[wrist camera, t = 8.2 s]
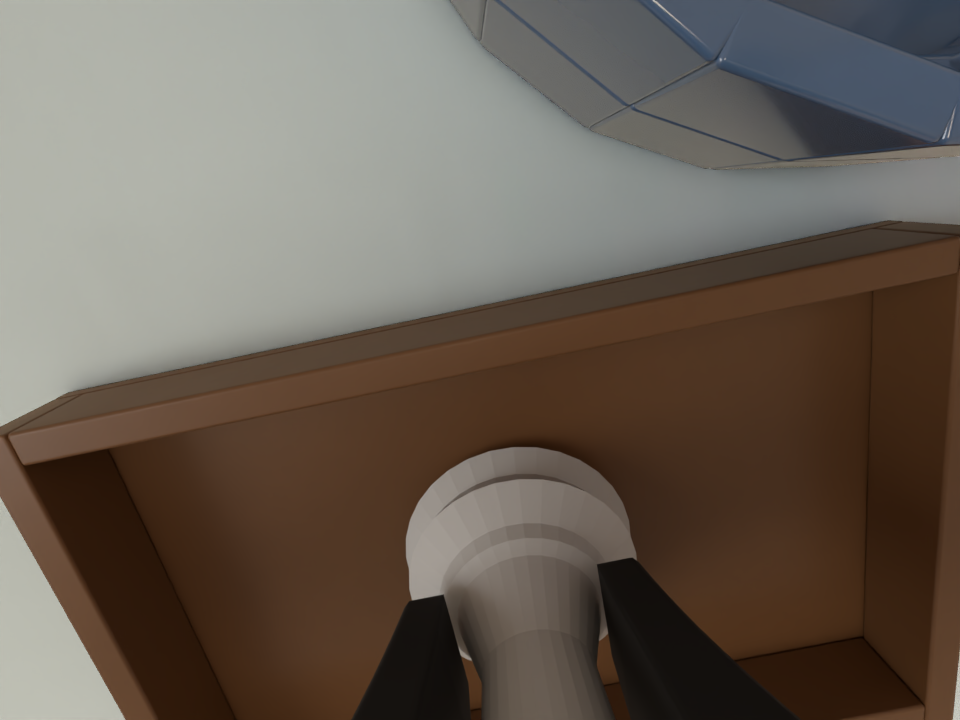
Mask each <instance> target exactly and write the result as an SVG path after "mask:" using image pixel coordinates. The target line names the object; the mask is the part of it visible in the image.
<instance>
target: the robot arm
mask: <svg viewBox="0 0 960 720" xmlns="http://www.w3.org/2000/svg"><path fill="white" fill-rule="evenodd" d="M597 569H598V575H599V581H600V587H601V593H602V599H603V605H604V611H605V617H606V623H607V629H608V636H609V642H610V648H611V654H612V658H613V661H614V665H615V668H616V672H617V675H618V678H619V682H620V685H621V689H622V692H623V695H624V699H625V702H626V705H627V709H628V712H629V715H630V718H631V720H801V719H800V718H799V717H798V716H796V715H795V714H794V713H793V712H792V711H790V710H789V709H788V708H787V707H786V706H785V705H783V704H782V703H781V702H780V701H779V700H778V699H777V698H775V697H774V696H773V695H772V694H771V693H770V692H769V691H767V690H766V689H765V688H764V687H763V686H762V685H760V684H759V683H758V682H757V681H756V680H755V679H754V678H753V677H751V676H750V675H749V674H748V673H747V672H746V671H745V670H744V669H743V668H742V667H740V666H739V665H738V664H737V663H736V662H735V661H734V660H733V659H732V658H731V657H730V656H729V655H728V654H727V653H726V652H724V651H723V650H722V649H721V648H720V647H719V646H718V645H717V644H716V643H715V642H714V641H713V640H712V639H711V638H710V637H709V636H708V635H707V634H706V633H705V632H704V631H703V630H701V629H700V628H699V627H698V626H697V625H696V624H695V623H694V622H693V621H692V620H691V619H690V618H689V616H688V615H687V614H686V613H685V612H684V611H683V610H682V609H681V608H680V607H679V606H678V605H677V604H676V603H675V602H674V601H673V600H672V599H671V598H670V597H669V596H668V594H667V593H666V592H665V591H664V590H663V589H662V588H661V587H660V586H659V585H658V583H657V582H656V581H655V580H654V579H653V578H652V577H651V576H650V574H649V573H648V572H647V571H646V570H645V569H644V567H643V566H642V565H641V564H640V562H638V561H637V560H635V559H634V558H632V557H631V558H626V559H621V560H616V561H611V562H606V563H601V564H597ZM351 720H471V711H470V697H469V683H468V680H467V676H466V673H465V669H464V665H463V662H462V658H461V655H460V651H459V647H458V644H457V640H456V637H455V633H454V630H453V626H452V622H451V619H450V615H449V612H448V608H447V604H446V601H445V597H444V594H443V595H437V596H432V597H427V598H422V599H417V600H412V601H409V602H408V604H407V605H406V606H405V608H404V610H403V612H402V615H401V617H400V619H399V622H398V624H397V626H396V628H395V631H394V633H393V635H392V637H391V640H390V642H389V644H388V646H387V648H386V651H385V653H384V655H383V657H382V659H381V661H380V663H379V665H378V667H377V670H376V672H375V674H374V676H373V678H372V680H371V682H370V684H369V686H368V688H367V690H366V692H365V694H364V696H363V698H362V700H361V702H360V704H359V706H358V707H357V709H356V711H355V713H354V715H353V717H352V719H351Z"/></svg>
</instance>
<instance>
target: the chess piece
mask: <svg viewBox="0 0 960 720" xmlns="http://www.w3.org/2000/svg"><path fill="white" fill-rule="evenodd" d="M631 557H632V558H634V559H635V560H637V556H636V551H635V548H634V545H633V542H632V539H631V536H630V525H629V519H628V516H627V513H626V510H625V508H624V505H623V502H622V501H621V499H620V497H619V496H618V494H617V493H616V491H615V489H614V488H613V486H612V485H611V484H610V483H609V482H608V481H607V480H606V479H605V478H604V477H603V476H602V475H601V474H600V473H599V472H598V471H596V470H595V469H593V468H592V467H590V466H588V465H587V464H585V463H584V462H582V461H581V460H579V459H576V458H574V457H571V456H569V455H566V454H564V453H561V452H558V451H553V450H548V449H542V448H537V447H511V448H505V449H499V450H493V451H489V452H486V453H483V454H480V455H477V456H475V457H472V458H469V459H467V460H465V461H463V462H462V463H460V464H458V465H457V466H455V467H453V468H451V469H450V470H448V471H447V472H446V473H445V474H443V475H442V476H441V477H440V478H439V479H438V480H436V481H435V482H434V483H433V484H432V485H431V486H430V487H429V489H428V490H427V491H426V493H425V494H424V495H423V497H422V498H421V499H420V500H419V502H418V504H417V506H416V508H415V510H414V512H413V515H412V517H411V519H410V522H409V527H408V531H407V536H406V559H407V563H408V567H409V590H410V594H411V598H412V600H417V599H422V598H427V597H432V596H437V595H443V594H444V597H445V601H446V604H447V608H448V612H449V615H450V619H451V622H452V626H453V630H454V633H455V637H456V640H457V644H458V647H459V651H460V655H461V656H462V657H464V658H466V659H468V660H471V661H472V662H473V664H474V666H475V669H476V671H477V673H478V676H479V678H480V680H481V683H482V709H481V720H616V719H615V716H614V713H613V710H612V708H611V705H610V702H609V699H608V696H607V694H606V691H605V688H604V685H603V682H602V680H601V677H600V674H599V671H598V668H597V657H598V646H599V641H600V640H601V639H603V638H604V637H605V636H606V635H607V634H608V629H607V623H606V617H605V611H604V605H603V599H602V593H601V587H600V581H599V575H598V569H597V564H601V563H606V562H611V561H616V560H621V559H626V558H631Z"/></svg>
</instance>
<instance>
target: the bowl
mask: <svg viewBox="0 0 960 720" xmlns="http://www.w3.org/2000/svg"><path fill="white" fill-rule="evenodd" d="M450 1H451V3H452V4H453V6H454V7H455V9H456V10H457V12H458V13H459V15H460V16H461V18H462V19H463V21H464V22H465V24H466V25H467V27H468V28H469V30H470V31H471V33H472V34H473V36H474V37H475V38H476V39H477V40H478V41H481V45H482V46H483V47H484V48H485V49H486V50H488V51H489V52H490V53H491V54H493V55H494V56H495V57H496V58H498V59H499V60H500V61H502V62H503V63H504V64H505V65H507V66H508V67H509V68H510V69H512V70H513V71H514V72H516V73H517V74H518V75H519V76H521V77H522V78H523V79H524V80H526V81H527V82H528V83H530V84H531V85H532V86H533V87H535V88H536V89H537V90H538V91H540V92H541V93H542V94H543V95H545V96H546V97H547V98H549V99H550V100H551V101H552V102H554V103H555V104H556V105H557V106H559V107H560V108H561V109H563V110H564V111H565V112H566V113H568V114H569V115H570V116H571V117H573V118H574V119H575V120H577V121H578V122H579V123H580V124H582V125H583V126H584V127H587V128H589V127H590V130H591V131H593V132H596V133H599V134H602V135H605V136H608V137H611V138H614V139H617V140H620V141H623V142H626V143H629V144H632V145H635V146H638V147H641V148H644V149H647V150H650V151H653V152H656V153H659V154H662V155H665V156H668V157H671V158H674V159H677V160H680V161H683V162H686V163H689V164H692V165H695V166H698V167H701V168H704V169H707V168H711V169H714V170H720V169H754V168H789V167H824V166H841V165H854V164H866V163H879V162H891V161H904V160H917V159H929V158H940V157H955V156H960V0H450Z"/></svg>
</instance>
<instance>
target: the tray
mask: <svg viewBox="0 0 960 720" xmlns="http://www.w3.org/2000/svg"><path fill="white" fill-rule="evenodd" d="M511 447H537V448H542V449H548V450H553V451H558V452H561V453H564V454H566V455H569V456H571V457H574V458H576V459H579V460H581V461H582V462H584V463H585V464H587V465H588V466H590V467H592V468H593V469H595V470H596V471H598V472H599V473H600V474H601V475H602V476H603V477H604V478H605V479H606V480H607V481H608V482H609V483H610V484H611V485H612V486H613V488H614V489H615V491H616V493H617V494H618V496H619V497H620V499H621V501H622V502H623V505H624V508H625V510H626V513H627V516H628V519H629V525H630V536H631V539H632V542H633V545H634V548H635V551H636V556H637V561H638V562H640V564H641V565H642V566H643V567H644V569H645V570H646V571H647V572H648V573H649V574H650V576H651V577H652V578H653V579H654V580H655V581H656V582H657V583H658V585H659V586H660V587H661V588H662V589H663V590H664V591H665V592H666V593H667V594H668V596H669V597H670V598H671V599H672V600H673V601H674V602H675V603H676V604H677V605H678V606H679V607H680V608H681V609H682V610H683V611H684V612H685V613H686V614H687V615H688V616H689V618H690V619H691V620H692V621H693V622H694V623H695V624H696V625H697V626H698V627H699V628H700V629H701V630H703V631H704V632H705V633H706V634H707V635H708V636H709V637H710V638H711V639H712V640H713V641H714V642H715V643H716V644H717V645H718V646H719V647H720V648H721V649H722V650H723V651H724V652H726V653H727V654H728V655H729V656H730V657H731V658H732V659H733V660H734V661H735V662H736V663H737V664H738V665H739V666H740V667H742V668H743V669H744V670H745V671H746V672H747V673H748V674H749V675H750V676H751V677H753V678H754V679H755V680H756V681H757V682H758V683H759V684H760V685H762V686H763V687H764V688H765V689H766V690H767V691H769V692H770V693H771V694H772V695H773V696H774V697H775V698H777V699H778V700H779V701H780V702H781V703H782V704H783V705H785V706H786V707H787V708H788V709H789V710H790V711H792V712H793V713H794V714H795V715H796V716H798V717H799V718H800V719H801V720H952V719H953V711H954V701H955V691H956V681H957V671H958V661H959V651H960V225H952V224H935V223H918V222H902V221H883V222H879V223H874V224H869V225H864V226H860V227H855V228H850V229H845V230H841V231H836V232H831V233H826V234H821V235H817V236H812V237H807V238H802V239H798V240H793V241H788V242H783V243H779V244H774V245H769V246H764V247H760V248H755V249H750V250H745V251H740V252H736V253H731V254H726V255H721V256H717V257H712V258H707V259H702V260H698V261H693V262H688V263H683V264H678V265H674V266H669V267H664V268H659V269H655V270H650V271H645V272H640V273H636V274H631V275H626V276H621V277H617V278H612V279H607V280H602V281H597V282H593V283H588V284H583V285H578V286H574V287H569V288H564V289H559V290H555V291H550V292H545V293H540V294H536V295H531V296H526V297H521V298H516V299H512V300H507V301H502V302H497V303H493V304H488V305H483V306H478V307H474V308H469V309H464V310H459V311H454V312H450V313H445V314H440V315H435V316H431V317H426V318H421V319H416V320H412V321H407V322H402V323H397V324H393V325H388V326H383V327H378V328H373V329H369V330H364V331H359V332H354V333H350V334H345V335H340V336H335V337H331V338H326V339H321V340H316V341H312V342H307V343H302V344H297V345H292V346H288V347H283V348H278V349H273V350H269V351H264V352H259V353H254V354H250V355H245V356H240V357H235V358H231V359H226V360H221V361H216V362H211V363H207V364H202V365H197V366H192V367H188V368H183V369H178V370H173V371H169V372H164V373H159V374H154V375H149V376H145V377H140V378H135V379H130V380H126V381H121V382H116V383H111V384H107V385H102V386H97V387H92V388H88V389H83V390H78V391H73V392H68V393H66V394H64V395H62V396H60V397H58V398H57V399H56V400H53V401H51V402H49V403H47V404H45V405H43V406H41V407H39V408H37V409H35V410H33V411H31V412H29V413H27V414H25V415H23V416H21V417H19V418H17V419H15V420H13V421H11V422H9V423H7V424H5V425H3V426H1V427H0V497H1V499H2V501H3V502H4V504H5V506H6V508H7V509H8V511H9V513H10V515H11V517H12V518H13V520H14V522H15V524H16V525H17V527H18V529H19V531H20V533H21V534H22V536H23V538H24V540H25V542H26V543H27V545H28V547H29V549H30V550H31V552H32V554H33V556H34V558H35V559H36V561H37V563H38V565H39V566H40V568H41V570H42V572H43V574H44V575H45V577H46V579H47V581H48V582H49V584H50V586H51V588H52V590H53V591H54V593H55V595H56V597H57V598H58V600H59V602H60V604H61V606H62V607H63V609H64V611H65V613H66V614H67V616H68V618H69V620H70V622H71V623H72V625H73V627H74V629H75V630H76V632H77V634H78V636H79V638H80V639H81V641H82V643H83V645H84V646H85V648H86V650H87V652H88V654H89V655H90V657H91V659H92V661H93V662H94V664H95V666H96V668H97V670H98V671H99V673H100V675H101V677H102V679H103V680H104V682H105V684H106V686H107V687H108V689H109V691H110V693H111V695H112V696H113V698H114V700H115V702H116V703H117V705H118V707H119V709H120V711H121V712H122V714H123V716H124V718H125V719H126V720H351V719H352V717H353V715H354V713H355V711H356V709H357V707H358V706H359V704H360V702H361V700H362V698H363V696H364V694H365V692H366V690H367V688H368V686H369V684H370V682H371V680H372V678H373V676H374V674H375V672H376V670H377V667H378V665H379V663H380V661H381V659H382V657H383V655H384V653H385V651H386V648H387V646H388V644H389V642H390V640H391V637H392V635H393V633H394V631H395V628H396V626H397V624H398V622H399V619H400V617H401V615H402V612H403V610H404V608H405V606H406V605H407V604H408V602H409V601H412V598H411V594H410V590H409V567H408V563H407V559H406V536H407V531H408V527H409V522H410V519H411V517H412V515H413V512H414V510H415V508H416V506H417V504H418V502H419V500H420V499H421V498H422V497H423V495H424V494H425V493H426V491H427V490H428V489H429V487H430V486H431V485H432V484H433V483H434V482H435V481H436V480H438V479H439V478H440V477H441V476H442V475H443V474H445V473H446V472H447V471H448V470H450V469H451V468H453V467H455V466H457V465H458V464H460V463H462V462H463V461H465V460H467V459H469V458H472V457H475V456H477V455H480V454H483V453H486V452H489V451H493V450H499V449H505V448H511ZM461 658H462V662H463V665H464V669H465V673H466V676H467V680H468V683H469V697H470V711H471V720H481V709H482V683H481V680H480V678H479V676H478V673H477V671H476V669H475V666H474V664H473V662H472V661H471V660H468V659H466V658H464V657H462V656H461ZM597 668H598V671H599V674H600V677H601V680H602V682H603V685H604V688H605V691H606V694H607V696H608V699H609V702H610V705H611V708H612V710H613V713H614V716H615V719H616V720H631V718H630V715H629V712H628V709H627V705H626V702H625V699H624V695H623V692H622V689H621V685H620V682H619V678H618V675H617V672H616V668H615V665H614V661H613V658H612V654H611V648H610V642H609V636H608V634H607V635H606V636H605V637H604V638H603V639H601V640H600V641H599V646H598V657H597Z"/></svg>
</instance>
